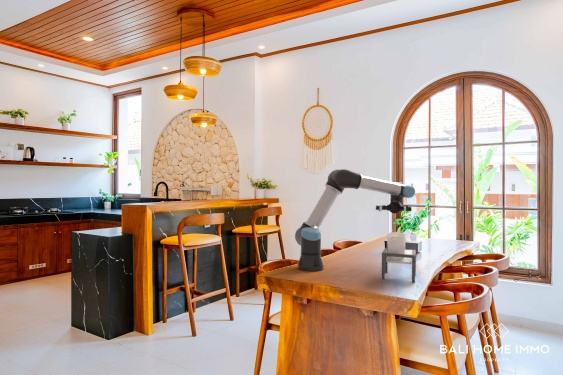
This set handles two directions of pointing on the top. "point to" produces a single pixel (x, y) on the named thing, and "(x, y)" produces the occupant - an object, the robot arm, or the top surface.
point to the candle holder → (396, 243)
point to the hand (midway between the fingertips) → (392, 209)
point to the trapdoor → (403, 261)
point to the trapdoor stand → (385, 254)
